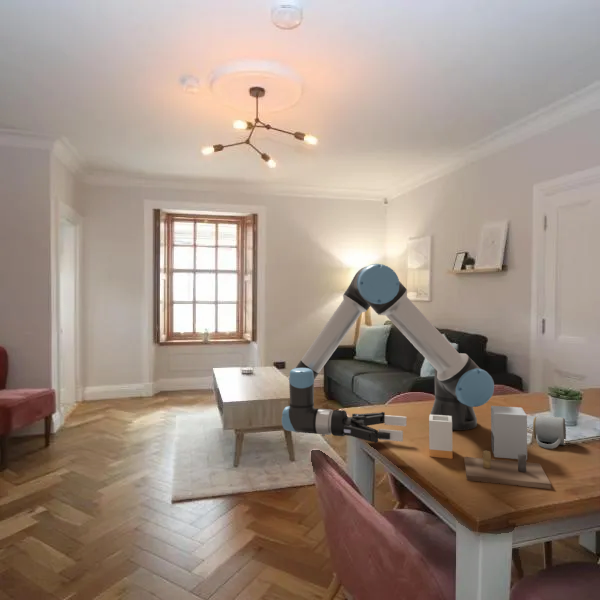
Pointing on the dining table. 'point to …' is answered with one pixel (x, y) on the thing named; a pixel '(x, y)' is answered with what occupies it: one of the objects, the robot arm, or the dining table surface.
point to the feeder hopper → (508, 431)
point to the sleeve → (440, 436)
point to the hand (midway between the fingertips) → (404, 428)
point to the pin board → (506, 471)
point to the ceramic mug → (549, 431)
